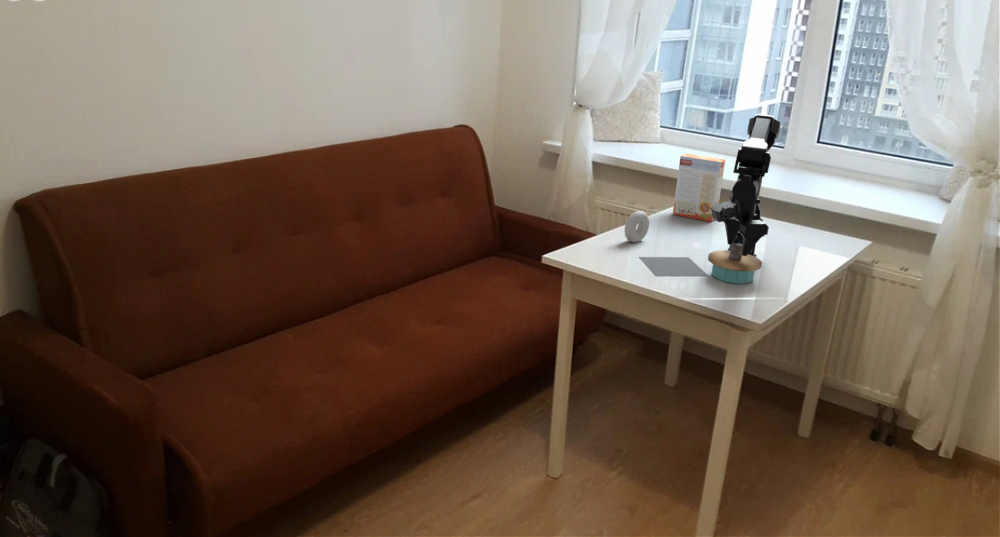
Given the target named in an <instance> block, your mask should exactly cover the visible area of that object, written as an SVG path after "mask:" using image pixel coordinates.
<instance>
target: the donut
mask: <svg viewBox="0 0 1000 537" xmlns="http://www.w3.org/2000/svg"><path fill="white" fill-rule="evenodd" d="M649 227H650V219H649V216H648V214H647V213H646V212H644V211H643V210H636V211H634V212H632V213H631V214H630V215H629V216H628V217H627V219H626V221H625V226H624V236H625V238H626V240H627V241H628V242H631V243H639V242H641V241H642V240H643V239H644V238H645V237H646V236H647V233H648V231H649V230H650V229H649Z"/></svg>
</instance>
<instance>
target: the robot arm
mask: <svg viewBox="0 0 1000 537" xmlns="http://www.w3.org/2000/svg"><path fill="white" fill-rule="evenodd" d="M746 130H747V131H746V133H747V136H749V137H748V139H747V140H745V141H743V142H742V145H741V147H740V148H738V150H737V154H736V158H735V163H734V168H733V171H732V172H733V174H738V175H737V179H736V181H735V183H734V184H733V186H732V189H731V190H732V191H731V193H732V194H731V196H730V198H729V200H728V201H724V202H719V204H717V205H714V206H712V207H711V212H712V217H713V219H715V220H714V221H716V222H717V223H723V224H724V226H725V234H726V241H727V245H728V246H729V247H728V248H727V251H730V248H731V244H732V243H739V244H742V255H743V256H747V255H748V254H750V255H752V256H755V257H757V255H758V254H756V253H755V251H756V245H757V243H758V242H759V241H760V240H761V239H762V238H763V237H765V236H767V235H768V234H769V229H770V228H769V226H768V225H767V223H765V222H764V218H763V217H762V213H763V211H762V209H761V206H760V203H761V199H759V198H760V193H761V189H762V188H761V187H762V182H763V178H764V177H765V176H766V174H768V172H769V169H770V165H771V159H772V156H771V153H770V152H769V151H770V150H771V149H772V148H773V146H774V145H775V143H776V139H778V138H779V135H780V131H781V122H780V121H779V120H778V119H776V118H775V116H773V115H769V114H762V113H758V114H757V113H756V114H754V116H753V117H751V118H749V121H748V126H747V129H746Z"/></svg>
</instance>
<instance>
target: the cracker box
mask: <svg viewBox="0 0 1000 537" xmlns="http://www.w3.org/2000/svg"><path fill="white" fill-rule="evenodd" d="M725 163H726V159H723V158H718V157H717V158H715V157H711V156H704V155H698V154H692V153H684V154H682V155H680V159H679V164H678V165H679V166H678V171H677V179H676V186H675V187H676V188H675V194H674V201H673V208H672V215H674V214H675V216H680V217H686V218H688V219H689V218H690V219H694V220H700V221H705V222H709V223H711V222H713V221H716V220H715V219H713V217H712V212H711V207H712V206H714V205H717V204H720V200H721V199H720V198H721V191H722V184H723V178H724V172H725V166H726V164H725Z"/></svg>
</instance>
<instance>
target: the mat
mask: <svg viewBox="0 0 1000 537" xmlns="http://www.w3.org/2000/svg"><path fill="white" fill-rule="evenodd" d="M638 258H639V259H640V260H641V262H643V264H645V267H647V268H648V269H649V270H650V272H651V273H652V274H653V275H654V276H655V277H709V274H707V272H705V271H704V270H703V269H702V268H701V267H700V266H699V265H698V264H696V262H695V261H694V260H693V259H691V257H689V256H655V257H654V256H639V257H638Z"/></svg>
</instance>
